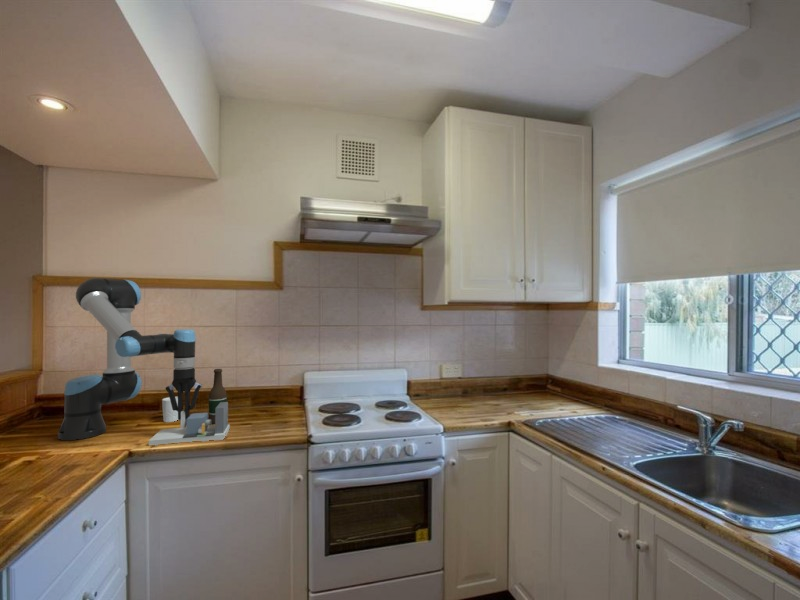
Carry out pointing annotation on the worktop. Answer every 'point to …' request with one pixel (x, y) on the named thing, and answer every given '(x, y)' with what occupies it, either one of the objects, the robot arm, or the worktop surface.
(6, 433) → the worktop surface
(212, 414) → the beer bottle
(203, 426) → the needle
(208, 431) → the board
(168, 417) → the white cup
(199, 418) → the carriage
